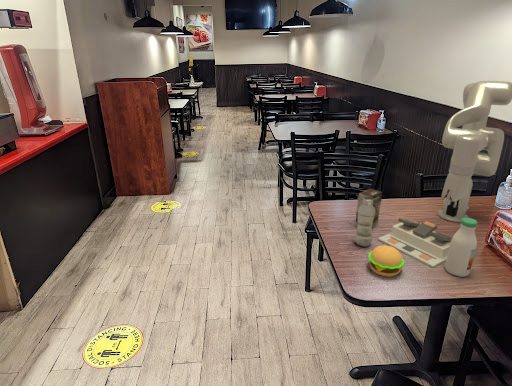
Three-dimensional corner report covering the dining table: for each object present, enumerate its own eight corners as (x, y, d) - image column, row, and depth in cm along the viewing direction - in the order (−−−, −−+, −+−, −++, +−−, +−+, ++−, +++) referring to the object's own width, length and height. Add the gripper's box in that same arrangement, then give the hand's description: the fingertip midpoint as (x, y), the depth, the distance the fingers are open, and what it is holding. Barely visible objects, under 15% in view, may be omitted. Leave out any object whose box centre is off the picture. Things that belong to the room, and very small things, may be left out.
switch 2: (440, 235, 135) (441, 231, 135) (452, 240, 131) (454, 237, 131) (429, 235, 130) (431, 232, 130) (442, 240, 127) (443, 237, 126)
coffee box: (366, 231, 149) (371, 197, 143) (354, 226, 153) (358, 192, 147) (378, 225, 154) (383, 191, 148) (365, 220, 159) (369, 187, 153)
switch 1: (408, 222, 146) (409, 219, 146) (419, 226, 142) (420, 223, 142) (397, 220, 141) (399, 217, 141) (408, 225, 137) (410, 222, 137)
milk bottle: (458, 279, 117) (472, 227, 110) (439, 267, 124) (451, 217, 116) (474, 274, 120) (488, 222, 112) (454, 262, 126) (467, 213, 119)
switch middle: (425, 223, 140) (425, 220, 139) (436, 228, 136) (437, 225, 135) (412, 232, 137) (412, 230, 136) (424, 237, 133) (424, 235, 132)
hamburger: (361, 260, 128) (364, 240, 125) (393, 259, 129) (396, 239, 126) (374, 280, 117) (377, 258, 114) (408, 278, 118) (413, 257, 114)
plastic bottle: (372, 249, 135) (378, 202, 128) (354, 247, 136) (359, 201, 129) (370, 241, 141) (376, 196, 134) (353, 239, 142) (358, 194, 135)
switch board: (403, 229, 151) (405, 218, 149) (458, 253, 132) (461, 241, 130) (377, 239, 142) (379, 228, 140) (432, 268, 123) (435, 255, 121)
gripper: (462, 162, 129) (452, 206, 137) (439, 170, 122) (429, 216, 129) (483, 168, 123) (471, 213, 131) (460, 177, 116) (449, 224, 123)
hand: (450, 215), depth 130 cm, fingers closed
